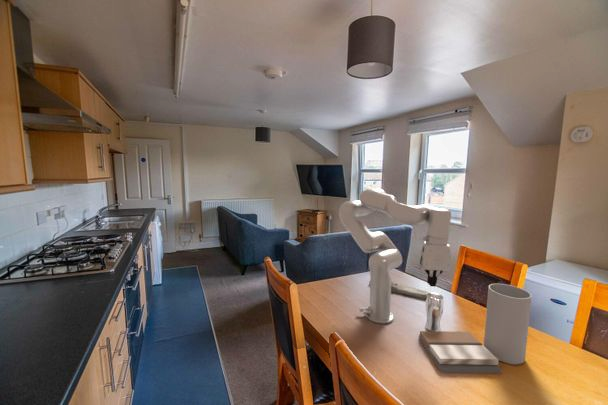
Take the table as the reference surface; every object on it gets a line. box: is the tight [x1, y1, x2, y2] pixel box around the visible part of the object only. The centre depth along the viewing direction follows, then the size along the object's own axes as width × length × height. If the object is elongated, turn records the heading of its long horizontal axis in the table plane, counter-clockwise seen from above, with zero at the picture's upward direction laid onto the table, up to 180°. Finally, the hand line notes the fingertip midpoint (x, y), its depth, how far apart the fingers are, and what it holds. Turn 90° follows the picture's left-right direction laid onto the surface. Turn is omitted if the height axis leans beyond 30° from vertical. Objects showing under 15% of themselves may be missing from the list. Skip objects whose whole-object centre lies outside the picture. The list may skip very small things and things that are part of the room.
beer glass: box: [425, 292, 444, 331], centre depth 115 cm, size 7×7×15 cm
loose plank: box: [430, 344, 499, 366], centre depth 96 cm, size 20×8×2 cm, turn 89°
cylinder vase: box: [483, 283, 533, 365], centre depth 99 cm, size 12×12×25 cm
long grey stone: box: [368, 280, 429, 300], centre depth 153 cm, size 35×5×10 cm
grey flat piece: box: [418, 330, 502, 374], centre depth 100 cm, size 20×19×4 cm
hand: (431, 284), depth 105 cm, fingers closed
